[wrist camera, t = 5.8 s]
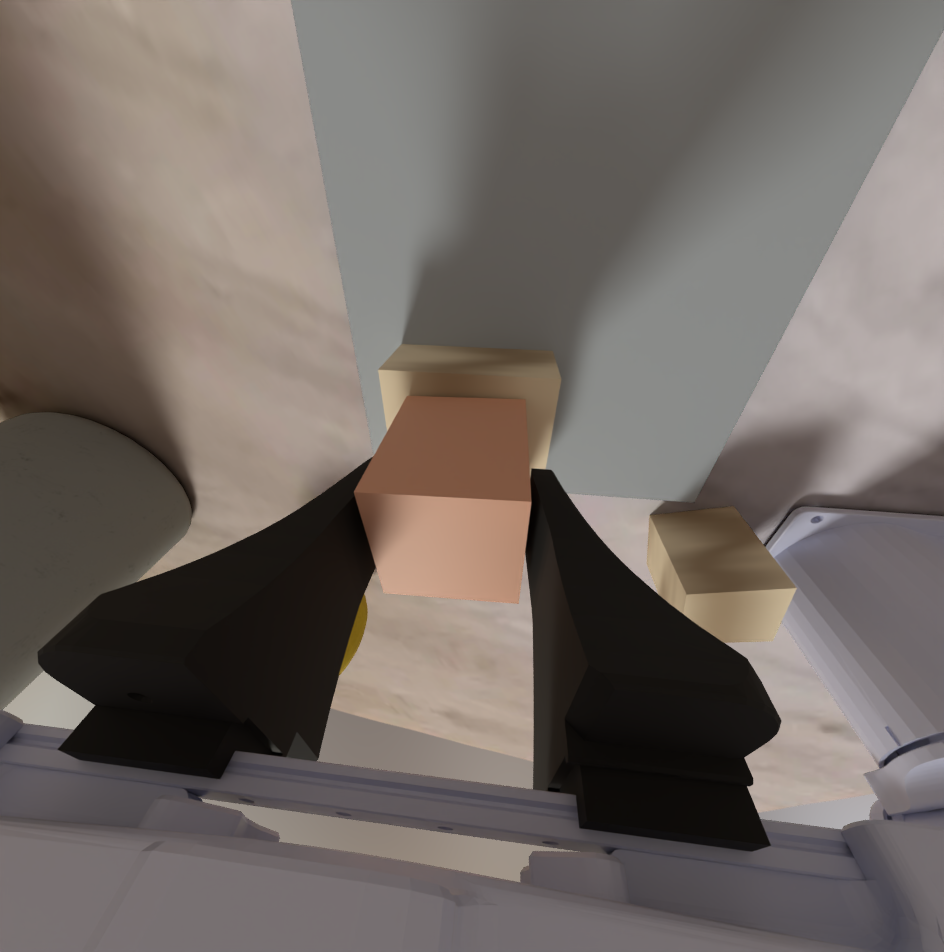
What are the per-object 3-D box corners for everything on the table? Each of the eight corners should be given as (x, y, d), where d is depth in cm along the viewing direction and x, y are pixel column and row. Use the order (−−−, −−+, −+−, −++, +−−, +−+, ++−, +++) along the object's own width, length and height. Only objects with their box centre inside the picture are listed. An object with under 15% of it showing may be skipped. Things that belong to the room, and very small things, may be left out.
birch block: (733, 505, 18) (796, 587, 14) (720, 557, 20) (772, 641, 16) (649, 514, 19) (686, 594, 15) (646, 562, 21) (677, 643, 17)
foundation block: (552, 350, 13) (561, 378, 11) (533, 475, 17) (537, 516, 15) (401, 343, 14) (378, 369, 11) (414, 466, 17) (398, 506, 15)
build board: (958, -36, 8) (987, -53, 8) (689, 494, 18) (694, 502, 17) (297, -18, 9) (285, -31, 9) (381, 473, 19) (378, 479, 18)
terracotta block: (525, 399, 11) (531, 501, 8) (517, 490, 14) (518, 603, 10) (406, 395, 12) (353, 492, 8) (419, 485, 14) (383, 593, 10)
